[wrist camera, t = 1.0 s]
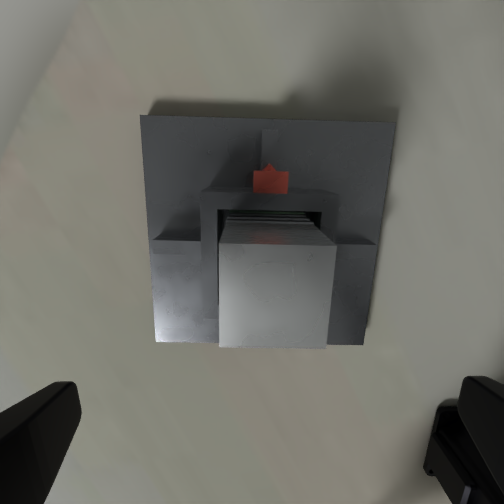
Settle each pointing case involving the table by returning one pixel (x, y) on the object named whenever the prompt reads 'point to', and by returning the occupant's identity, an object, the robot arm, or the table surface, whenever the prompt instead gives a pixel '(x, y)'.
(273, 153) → the jack base
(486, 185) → the table surface
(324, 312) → the block
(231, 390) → the table surface
